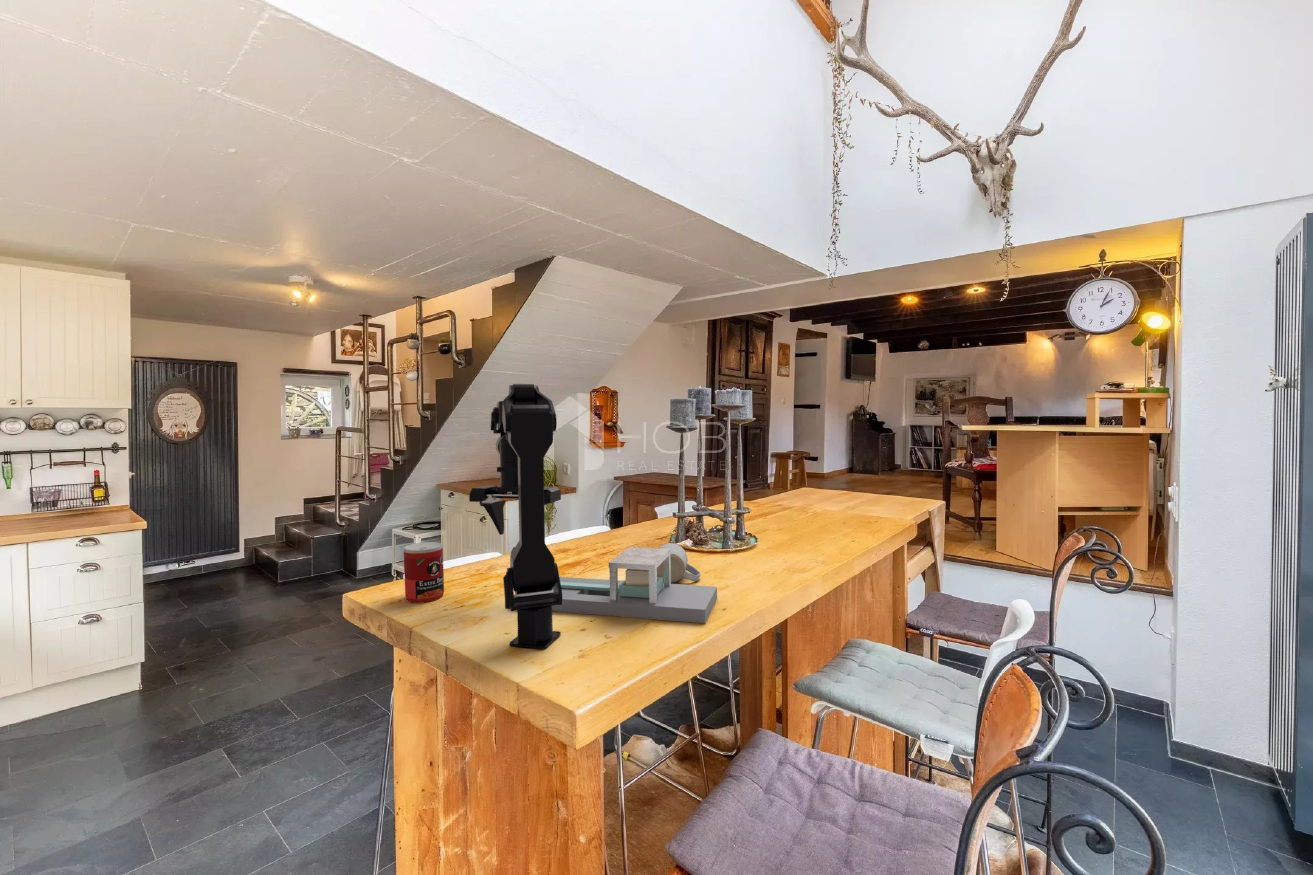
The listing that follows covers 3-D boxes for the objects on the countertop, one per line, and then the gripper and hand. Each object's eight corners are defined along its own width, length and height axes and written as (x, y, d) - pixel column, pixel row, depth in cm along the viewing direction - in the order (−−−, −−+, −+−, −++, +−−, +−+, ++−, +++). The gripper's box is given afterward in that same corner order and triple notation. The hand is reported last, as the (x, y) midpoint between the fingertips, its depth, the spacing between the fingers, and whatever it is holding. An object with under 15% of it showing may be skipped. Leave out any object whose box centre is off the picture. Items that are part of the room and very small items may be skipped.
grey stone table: (655, 604, 104) (654, 564, 103) (609, 601, 106) (608, 562, 106) (671, 584, 116) (670, 548, 116) (630, 581, 118) (629, 546, 118)
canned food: (418, 605, 113) (416, 552, 112) (397, 598, 118) (396, 546, 117) (452, 595, 119) (450, 544, 118) (431, 589, 124) (429, 540, 123)
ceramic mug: (653, 584, 125) (653, 550, 124) (655, 574, 133) (655, 542, 133) (700, 585, 124) (701, 551, 124) (700, 575, 132) (700, 543, 132)
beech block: (650, 597, 108) (650, 571, 108) (625, 595, 109) (625, 570, 109) (657, 589, 113) (656, 565, 113) (633, 588, 114) (633, 563, 114)
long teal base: (654, 598, 107) (653, 580, 107) (528, 589, 114) (528, 572, 113) (663, 587, 113) (662, 570, 113) (544, 579, 120) (543, 563, 120)
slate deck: (705, 623, 101) (705, 609, 101) (513, 607, 111) (513, 595, 111) (717, 598, 114) (716, 586, 114) (545, 586, 124) (545, 575, 124)
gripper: (570, 458, 123) (572, 529, 123) (494, 458, 127) (496, 526, 128) (548, 462, 112) (550, 539, 112) (466, 462, 117) (468, 536, 117)
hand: (515, 534), depth 118 cm, fingers open, 6 cm apart
